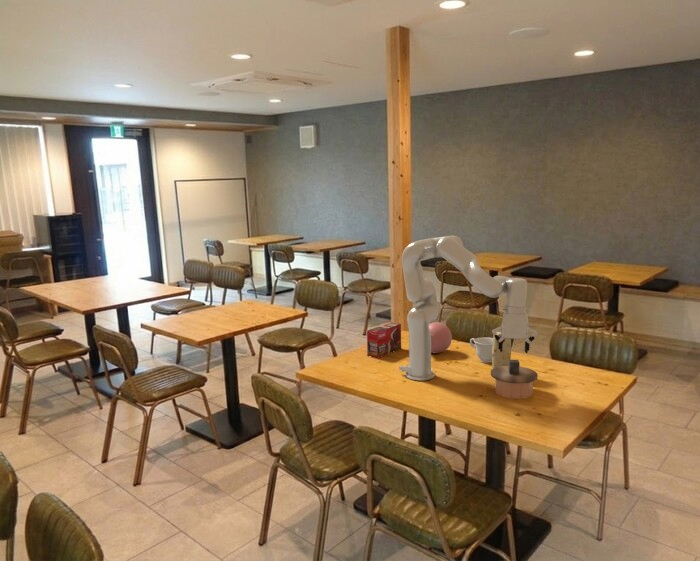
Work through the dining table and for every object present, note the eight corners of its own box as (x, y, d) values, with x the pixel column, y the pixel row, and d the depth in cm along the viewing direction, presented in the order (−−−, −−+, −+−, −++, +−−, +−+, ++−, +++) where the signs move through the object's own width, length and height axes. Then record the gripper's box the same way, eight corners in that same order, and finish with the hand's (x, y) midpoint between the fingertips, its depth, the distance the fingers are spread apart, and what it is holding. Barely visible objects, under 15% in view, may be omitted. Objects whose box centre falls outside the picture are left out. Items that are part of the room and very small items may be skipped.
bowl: (497, 397, 213) (497, 380, 212) (494, 385, 227) (494, 369, 226) (534, 399, 211) (535, 382, 210) (529, 386, 224) (529, 370, 223)
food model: (499, 379, 233) (500, 334, 230) (487, 375, 239) (488, 331, 235) (514, 374, 239) (515, 330, 235) (502, 370, 244) (503, 327, 241)
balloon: (407, 354, 272) (407, 324, 269) (435, 346, 284) (435, 317, 281) (430, 361, 260) (430, 329, 257) (458, 352, 272) (458, 322, 270)
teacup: (476, 354, 269) (476, 334, 267) (504, 360, 258) (504, 340, 257) (463, 360, 260) (463, 340, 258) (491, 366, 250) (491, 345, 248)
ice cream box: (391, 346, 285) (391, 322, 283) (401, 348, 281) (400, 323, 279) (367, 356, 270) (366, 330, 268) (377, 358, 266) (376, 332, 264)
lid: (492, 382, 210) (492, 367, 209) (488, 367, 228) (489, 353, 227) (541, 384, 207) (541, 369, 206) (533, 368, 225) (534, 354, 224)
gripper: (493, 311, 211) (491, 353, 214) (540, 312, 208) (537, 355, 211) (492, 306, 218) (490, 347, 221) (537, 308, 215) (534, 349, 218)
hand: (513, 351), depth 216 cm, fingers open, 9 cm apart
